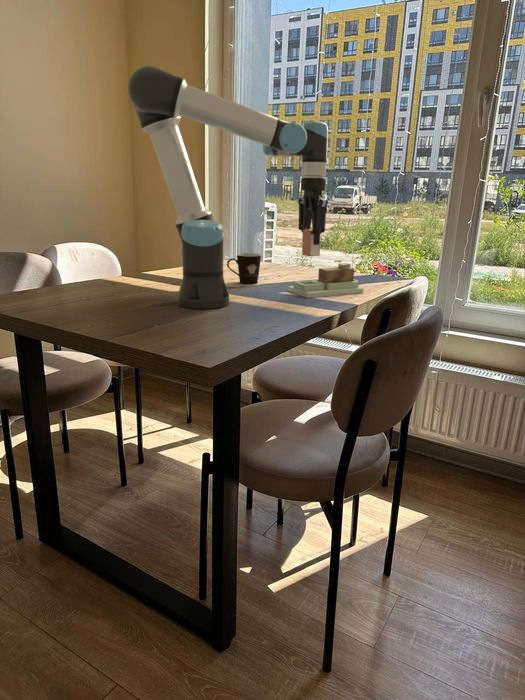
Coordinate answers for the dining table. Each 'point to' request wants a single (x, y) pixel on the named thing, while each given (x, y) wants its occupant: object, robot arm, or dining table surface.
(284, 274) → the dining table surface
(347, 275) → the brown wooden block
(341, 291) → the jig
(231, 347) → the dining table surface
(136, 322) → the dining table surface
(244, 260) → the coffee mug
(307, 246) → the red block
